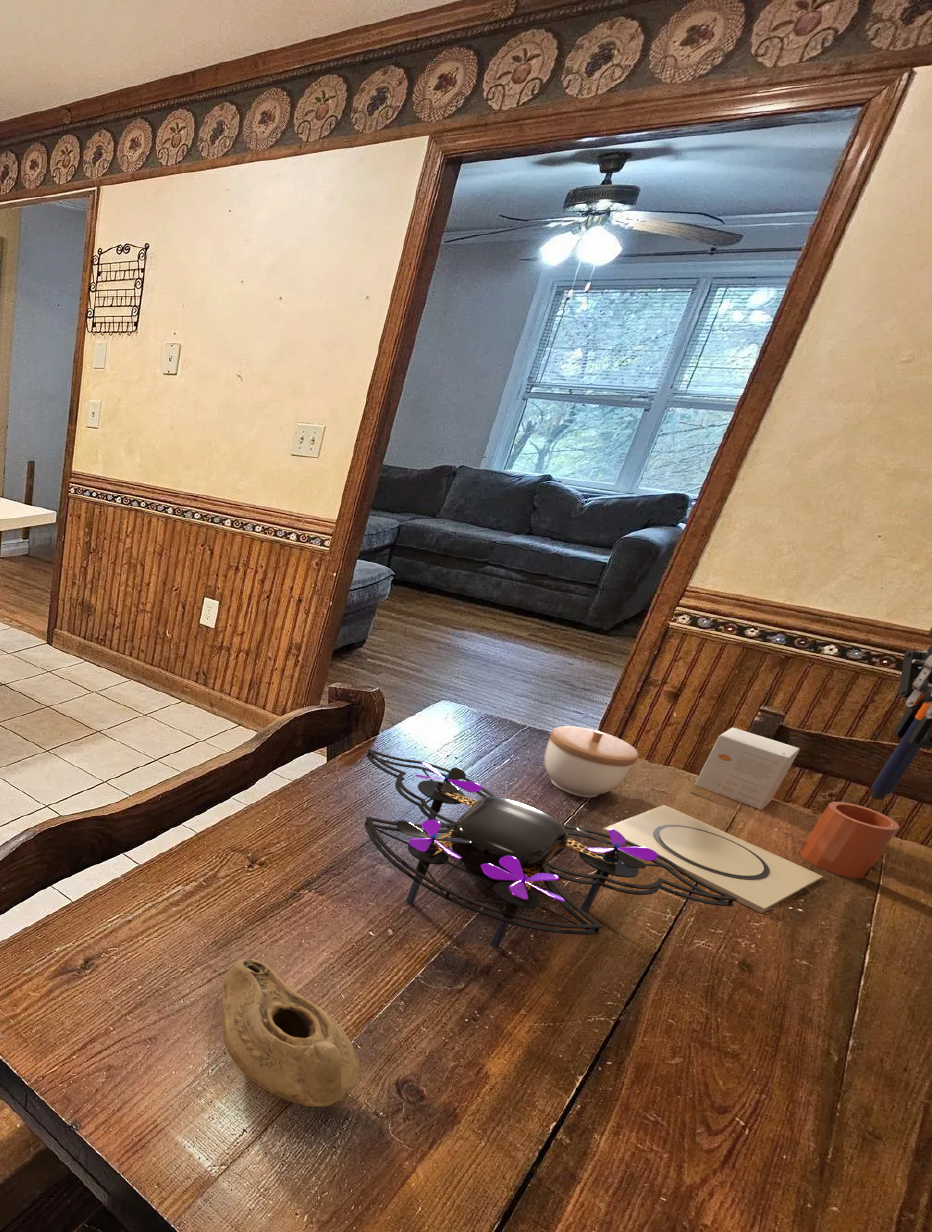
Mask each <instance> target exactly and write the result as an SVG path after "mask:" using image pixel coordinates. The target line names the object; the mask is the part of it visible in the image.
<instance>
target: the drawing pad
mask: <svg viewBox="0 0 932 1232" xmlns="http://www.w3.org/2000/svg"><path fill="white" fill-rule="evenodd" d="M609 829H614V830H616V831H618V832H619V833H621V834H622V835H623V836H624V838H625V839H626V841H629V842H631V843H634V844H636V845H639V846H641V847H645V848H649V849H652V850H654V851H655V852H656V853H658V854H659V855H661V856H663V857H665V858H667V859H668V860H670V861H672V862H673V863H675V864H676V865H677V866H679V867H680V868H681V869H683V870H684V871H685V872H687V873H688V874H690V875H691V876H693V877H695V878H696V879H698V880H700V881H701V882H703V883H705V884H707V885H709V886H711V887H713V888H715V889H717V890H719V891H721V892H724V893H726V894H728V895H731V896H733V897H735V898H737V900H735V901H736V902H738V903H740V904H741V905H744V906H745V907H748V908H750V909H752V910H753V911H756V912H757V913H759V914H763V913H766V912H767V911H769V910H771V909H772V908H773V906H776V905H777V904H779V903H780V902H782V901H784V900H786V899H788V898H790V897H791V896H794V895H795V894H797V893H799V892H801V891H802V890H804V889H806V888H808V887H810V886H812V885H813V884H815V883H817V882H818V881H821V880H822V879H823V878H824V876H823V875H822V874H819V873H817V872H814V871H812V870H810V869H808V868H805V867H803V866H801V865H799V864H797V863H795V862H793V861H790V860H787V859H786V858H783V857H781V856H779V855H778V854H775V853H772V852H770V851H768V850H766V849H763V848H761V847H759V846H757V845H754V844H752V843H750V842H748V841H746V840H744V839H741V838H739V837H736V836H735V835H732V834H730V833H728V832H726V831H723V830H721V829H719V828H717V827H714V826H713V825H710V824H708V823H706V822H704V821H701V820H699V819H697V818H695V817H693V816H690V815H688V814H687V813H683V812H681V811H679V810H677V809H675V808H672V807H670V806H668V805H666V804H663V805H660V806H658V807H655V808H652V809H650V810H647V811H645V812H642V813H639V814H637V815H634V816H631V817H629V818H626V819H623V820H621V821H618V822H616V823H613V824H611V825H608V826H606V827H603V828H602V829H601V833H605V834H608V835H609V832H608V830H609ZM623 845H624V846H626V847H633V846H630V845H628V844H625V843H624V844H623ZM656 860H657V861H659V862H661V863H662V864H664V865H666V866H668V867H669V868H671V869H672V870H673V871H675V872H677V873H678V872H679V871H678V870H676V869H675V868H674V867H672V866H671V865H670V864H668V863H667V862H665V861H663V860H661V859H659V858H657V859H656ZM679 873H680V872H679Z"/></svg>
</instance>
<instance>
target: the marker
mask: <svg viewBox="0 0 932 1232" xmlns="http://www.w3.org/2000/svg"><path fill="white" fill-rule="evenodd" d="M930 705H931V702H924V703H923V705H922V706H921V708H920V710H919V711H918V713H917V714H916V716H915V719H914V720H913V722H912V723H911V725H910V726H909V728H908V730H907V731H906V733H905V734H904V736H903V738H900V740H899V742H898V744H897V746H896V747H895V749H894V750H893V752H892V753H891V755H890V757H889V758H888V760H887V761H886V763H885V764H884V766H883V768H882V769H881V771H880V772H879V774H878V775H877V777H876V779H874V782H873V784H872V785H871V787H870V789H871V790H872V791H871V793H870V794H869V796H870V797H871V798H873V799H874V800H878V801H883V800H884V799H885V798H886V796H887V795H888V796H889V795H891V794H893V792H894V790H895V789H896V787H897V785H898V784H899V783H900V781H901V779H902V778H903V776H904V774H905V773H906V772H907V770H908V769H909V767H910V766H911V764H912V762H913V761H914V760H915V758H916V756H917V754H918V753H919V752H920V751H921V748H919V747H914V746H912V745H910V744H909V743H908V740H909V738H910V737H911V735H912V733H913V732H914V730H915V729H916V727H917V726H918V724H919V722H920V721H921V719H922V718H923V716H924V717H926V712H927V710H928V708H929V706H930Z"/></svg>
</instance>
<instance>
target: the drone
mask: <svg viewBox="0 0 932 1232" xmlns="http://www.w3.org/2000/svg"><path fill="white" fill-rule="evenodd" d="M367 751H368V752H367V753H366V755H365V756H366V757H367V759H368V760H369V761H370V763H372V765H374V766H375V767H376V768H378V769H379V770H381V771H382V772H384V773H386V774H388V775H390V776H391V777H394V778H396V780H395V783H394V786H395V790H396V792H398V793H399V795H400V796H401V797H403V799H405V800H407V801H408V802H410V803H411V804H413V805H415V806H417V807H418V808H419V810H420V811H421V813H422V814H423V815H424V816H425V817H427V820H424V821H423V822H421V823H412V822H409V821H407V820H403V819H401V820H396V821H392V820H386V819H381V818H376V817H371V816H366V817H365V820H366V821H365V822H364V827H365V830H366V833H367V835H368V837H369V839H370V841H371V842H372V844H373V845H374V846H375V848H376V849H377V850H378V851H379V852H380V854H382V855H383V857H384V858H385V859H386V860H387V861H388V862H390V863H391V864H392V865H393V866H394V867H396V869H398V870H399V871H400V872H401V873H403V874H404V875H406V877H408V878H410V879H411V880H412V882H411V885H410V888H409V890H408V894H407V897H406V899H405V902H406V903H408V904H410V905H414V903H415V901H416V898H417V896H418V893H419V890H420V888H421V886H422V887H423V888H425V889H426V890H429V891H430V892H432V893H434V894H436V895H438V896H439V897H441V898H443V899H445V900H447V901H449V902H451V903H453V904H456V905H457V906H460V907H462V908H464V909H467V910H470V911H472V912H474V913H477V914H480V915H482V916H485V917H488V918H491V919H494V920H497V921H499V923H498V925H497V927H496V930H495V931H494V933H493V936H492V938H491V941H490V943H489V945H490V946H491V947H492V948H493V949H499V948H500V946H501V944H502V941H503V939H504V936H505V934H506V932H507V930H508V928H509V926H510V924H511V925H514V926H517V927H521V928H525V929H530V930H536V931H540V932H545V933H552V934H560V935H570V936H571V935H574V936H593V935H594V936H595V935H600V929H603V924H600V923H599V921H597V920H595V919H594V918H593V917H591V916H590V914H587V913H589V912H590V910H591V907H592V905H593V904H594V902H595V899H596V898H597V895H598V893H599V891H600V890H601V887H602V888H606V889H609V890H611V891H615V892H618V893H622V894H623V893H624V894H628V895H634V896H635V895H636V896H649V895H653V894H656V893H657V892H659V890H662V891H664V892H667V893H670V894H672V895H674V896H678V897H681V898H684V899H687V900H690V901H694V902H697V903H702V904H706V905H711V906H721V907H734V901H736V900H737V898H735V897H733V896H731V895H728V894H726V893H724V892H721V891H719V890H717V889H715V888H713V887H711V886H709V885H707V884H705V883H703V882H701V881H700V880H698V879H696V878H695V877H693V876H691V875H690V874H688V873H687V872H685V871H684V870H683V869H681V868H680V867H679V866H677V865H676V864H675V863H673V862H672V861H670V860H668V859H667V858H665V857H663V856H661V855H659V854H658V853H656V852H655V851H654V850H652V849H649V848H645V847H641V846H639V845H636V844H634V843H631V842H629V841H626V839H625V838H624V836H623V835H622V834H621V833H619V832H618V831H616V830H614V829H609V830H608V832H609V835H608V834H605V833H602V831H597V830H593V829H589V828H585V827H580V826H575V825H568V824H562V822H561V821H559V820H557V819H556V818H554V817H553V816H552V815H549V814H548V813H546V812H544V811H542V810H540V809H538V808H535V807H533V806H531V805H528V804H525V803H523V802H521V801H516V800H514V799H511V798H506V797H500V796H496V795H495V794H494V793H492V792H491V791H490V790H488V789H487V788H486V787H484V786H482V785H480V784H479V783H477V782H475V781H474V780H472V779H470V778H468V777H467V774H466V772H465V771H464V770H463V769H462V768H460V767H455V766H454V767H452V768H451V769H447V768H444V767H442V766H439V765H436V764H432V763H429V762H425V761H423V760H422V761H421V760H414V759H408V758H401V757H396V756H393V755H389V754H385V753H382V752H379V751H376V750H373V749H371V748H367ZM378 756H380V757H381V758H380V757H378ZM382 757H383V758H384V759H383V758H382ZM385 758H387V759H390V760H394V761H390V760H387V759H385ZM395 761H399V762H395ZM400 762H404V763H400ZM405 763H411V764H412V765H411V764H405ZM380 764H381V765H380ZM413 764H417V765H413ZM392 765H393V766H392ZM394 766H398V767H403V768H408V769H409V768H410V769H416V770H421V771H422V772H423V773H424V774H425V775H422V774H414V776H415V777H417V778H420V779H427V780H423V781H420V782H419V783H418V784H417V789H418V791H419V792H420V794H422V795H423V796H425V797H427V798H429V799H427V800H426V799H425V798H423V797H420V796H418V795H416V794H415V793H413V792H412V791H410V790H409V789H408V788H407V787H406V786H405V785H404V783H403V781H404V780H405V777H404V776H406V775H407V772H406V771H404V770H401V769H399V768H396V767H394ZM385 767H386V768H387V769H386V768H385ZM388 769H390V770H391V771H390V770H388ZM439 770H440V771H443V772H445V773H447V774H445V773H443V772H440V771H439ZM394 772H396V773H394ZM427 772H429V773H431V774H436V775H437V776H439V777H440V778H439V777H434V776H430V774H428V773H427ZM397 773H398V774H397ZM437 780H438V781H437ZM442 780H443V781H442ZM459 788H460V789H462V790H463V791H466V792H468V793H476V794H477V795H479V796H480V797H481V798H479V799H473V798H471V797H468V796H466V795H465V793H464V792H463V791H461V790H460V789H459ZM408 795H409V796H408ZM411 797H412V798H411ZM413 798H414V799H416V800H418V801H416V800H414V799H413ZM419 801H420V802H419ZM431 801H432V803H431V806H430V805H428V803H429V802H431ZM443 804H447V805H461V804H464V805H466V806H468V807H470V809H468V810H467V811H466V812H464V813H463V814H462V815H461V816H460V817H459V818H458V819H457V820H456V821H455V820H452V819H449V818H447V817H445V816H443V815H441V814H440V811H441V808H442V806H443ZM437 818H438V819H437ZM439 819H440V820H442V821H444V822H442V821H440V820H439ZM373 822H376V823H380V824H376V823H373ZM445 822H446V823H445ZM381 824H385V825H381ZM387 825H391V826H387ZM393 826H396V827H393ZM567 829H568V830H567ZM383 830H387V831H391V832H397V833H399V832H400V833H402V834H404V835H406V836H411V838H410V839H408V842H407V841H405V840H403V839H401V838H398V837H397V836H394V835H392V834H390V833H388V832H385V831H383ZM569 830H574V831H569ZM575 830H576V831H578V832H576V831H575ZM378 832H379V833H381V834H384V835H385V836H387V837H389V838H392V839H394V840H396V841H397V842H401V843H402V844H405V845H407V850H408V852H409V854H411V856H412V857H414V858H415V859H417V860H418V863H417V865H416V868H414V867H413V866H411V865H410V864H409V863H408V862H406V861H405V860H404V859H402V857H400V856H399V855H398V854H396V853H395V851H394V850H392V849H391V848H390V846H388V845H387V844H386V842H385V841H384V840H383V839H382V837H381V836H380V835H379V833H378ZM438 834H443V835H441V836H440V837H438V838H437V835H438ZM593 834H594V835H593ZM595 835H597V836H601V837H605V838H608V839H610V840H608V839H604V838H601V837H597V836H595ZM569 836H575V837H580V838H585V839H589V840H592V841H593V840H594V841H596V842H599V843H602V844H604V845H606V846H608V847H598V846H587V845H584V844H582V843H580V842H578V841H576V840H573V839H572V838H569ZM415 837H416V838H415ZM624 843H625V844H628V845H630V846H633V847H629V846H626V845H625V844H624ZM450 848H451V849H450ZM565 848H568V849H570V850H573V851H576V852H578V855H579V857H580V858H581V859H582V861H583V862H584V863H585V864H587V865H589V866H590V867H592V868H593V869H595V870H596V872H595V874H586V873H579V872H575V871H571V870H568V869H566V868H562V867H560V866H557V865H555V864H553V863H551V861H552V860H553V858H555V857H556V856H558V855H560V854H561V853H562V852H563V851H564V850H565ZM449 856H451V857H453V858H455V859H458V860H459V861H460V862H462V865H463V867H461V866H459V865H456V864H454V863H452V862H449V859H450V857H449ZM657 858H659V859H661V860H663V861H665V862H667V863H668V864H670V865H671V866H672V867H674V868H675V869H676V870H678V871H679V873H680V874H679V873H678V871H676V870H674V869H672V868H670V867H668V866H666V865H664V864H662V863H661V862H659V861H657V860H656V859H657ZM645 861H647V862H652V863H645ZM445 864H447V865H449V866H452V867H454V868H455V869H457V870H459V871H462V872H464V873H466V874H468V875H471V876H473V877H474V878H477V879H479V880H481V881H483V882H485V883H487V884H490V885H492V886H494V888H493V889H494V892H495V894H496V895H497V896H498V897H499V898H500V899H502V900H503V901H501V900H489V899H478V898H470V897H467V896H466V895H463V894H460V893H458V892H457V891H454V890H453V889H450V888H448V887H446V886H444V885H443V884H440V883H438V881H437V880H436V879H435V877H434V876H433V875H432V873H431V872H430V870H429V867H430V865H433V866H434V865H435V866H441V865H445ZM401 865H402V866H401ZM403 866H404V867H403ZM646 867H657V868H663V869H664V870H666V871H667V872H669V873H670V874H671V875H672V876H674V877H675V878H676V879H678V880H679V881H680V882H682V883H683V884H685V885H687V886H688V887H685V886H682V885H679V884H676V883H674V882H671V881H669V880H666V879H664V878H662V877H658V878H657V880H656V881H654V882H653V883H648V884H634V883H628V882H623V881H619V880H616V879H613V878H609V875H610V876H614V877H617V878H618V877H619V878H623V879H628V878H629V879H630V878H631V879H632V878H634V877H635V878H636V877H637V876H638V874H639V873H640V872H639V869H645V868H646ZM405 868H406V869H405ZM549 868H551V869H553V870H556V871H558V872H555V871H553V870H551V869H549ZM408 870H409V871H408ZM410 871H411V872H412V873H413V874H412V873H411V872H410ZM559 872H561V873H563V874H567V875H570V876H573V877H577V878H573V877H570V876H566V875H563V874H561V873H559ZM427 874H428V875H429V877H428V876H426V875H427ZM682 875H683V876H685V877H686V878H688V879H689V880H690V881H689V880H687V879H685V878H684V877H683V876H682ZM579 878H581V879H579ZM559 879H561V880H565V881H568V882H572V883H576V884H580V885H588V886H589V885H591V886H590V888H589V889H588V892H587V894H586V896H585V898H584V900H583V901H582V905H581V906H579V905H577V904H576V903H575V902H574V901H573V900H572V899H571V898H570V897H569V896H568V895H567V894H566V892H565V891H564V890H563V889H562V888H561V886H560V885H559V884H558V882H557V880H559ZM585 879H586V880H585ZM587 879H589V880H587ZM423 880H424V881H426V882H427V883H426V882H424V881H423ZM691 881H692V882H691ZM534 882H543V884H544V885H545V887H546V888H547V890H546V889H544V888H542V887H539V886H537V885H534V884H533V883H534ZM606 882H609V883H611V884H614V885H617V886H614V885H610V884H608V883H606ZM693 882H694V883H696V884H698V885H700V886H701V887H703V888H705V889H707V890H708V891H711V892H713V893H714V894H713V893H712V894H711V893H710V892H708V891H706V890H705V889H702V888H700V887H698V886H697V885H695V884H693ZM429 884H431V885H432V886H431V885H429ZM663 884H665V885H668V886H670V887H671V888H675V889H678V890H681V891H684V892H686V893H690V894H693V895H697V896H700V897H696V896H693V895H690V894H689V895H688V894H686V893H682V892H680V891H676V890H674V889H671V888H669V887H667V886H664V885H663ZM433 886H434V887H433ZM618 886H621V887H625V888H629V889H625V888H621V887H618ZM435 887H436V888H437V889H436V888H435ZM531 887H532V888H534V889H536V890H538V891H539V892H541V893H543V894H545V895H547V896H549V897H550V898H553V899H555V900H556V901H557V902H558V903H559V904H560V905H561V906H562V908H563V909H565V910H566V911H567V912H568V914H570V915H571V916H572V917H573V918H574V919H575V920H577V921H578V922H579V923H578V922H576V921H574V920H572V919H570V918H568V917H567V916H563V915H561V914H559V913H558V912H556V911H554V910H551V909H549V908H547V907H546V906H543V905H541V899H540V898H539V896H538V895H537V894H536V893H535V892H534V891H532V890H531ZM689 887H690V888H689ZM634 889H636V890H634ZM637 889H638V890H637ZM715 893H716V894H715ZM701 897H703V898H701ZM704 897H705V898H709V899H705V898H704ZM710 899H712V900H710ZM462 901H464V902H467V903H469V904H467V903H464V902H462ZM485 903H492V904H493V903H494V904H503V905H504V904H505V905H504V907H503V909H500V908H498V907H494V906H492V905H491V906H490V905H488V904H485ZM567 903H568V904H569V905H568V904H567ZM470 904H472V905H470ZM473 905H475V906H477V907H475V906H473ZM570 906H571V907H570ZM478 907H480V908H482V909H484V910H482V909H480V908H478ZM519 908H523V909H526V910H527V909H528V910H529V909H531V910H533V909H536V908H540V909H541V910H544V911H546V912H548V913H550V914H553V915H554V916H556V917H559V918H561V919H563V920H565V921H567V922H568V923H567V922H557V921H550V920H544V919H539V918H533V917H529V916H524V915H521V914H517V912H518V910H519ZM485 910H488V912H487V911H485ZM489 911H491V912H493V913H491V912H489ZM494 913H497V914H500V915H501V916H500V915H497V914H494ZM579 914H580V915H579ZM581 916H582V917H583V918H582V917H581ZM514 919H517V920H520V921H517V920H514ZM586 920H587V921H588V922H589V923H588V922H587V921H586ZM523 921H525V922H526V923H525V922H523ZM527 922H529V923H527ZM531 923H533V924H531ZM535 924H539V925H535ZM540 925H543V926H540ZM547 926H548V927H547ZM555 927H556V928H555ZM563 928H564V929H563Z"/></svg>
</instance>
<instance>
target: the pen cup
mask: <svg viewBox="0 0 932 1232" xmlns="http://www.w3.org/2000/svg"><path fill="white" fill-rule="evenodd" d="M899 829H900V825H899V823H898V822H897V821H895V820H894V819H893V818H891V817H890V816H887V815H885V814H884V813H882V812H880V811H876V810H874V809H871V808H869V807H866V806H862V805H859V804H855V803H851V802H850V803H849V802H845V801H832V802H830V803H828V804H827V806H826V808H825V809H824V811H823V812H822V813H821V815H820V817H819V818H818V821H817V822H816V823H815V826H814V827H813V829H812V830H811V831H810V833H809V835H808V837H807V838H806V839H805V841H804V843H803V844H802V846H801V847H800V849H799V855H800V856H801V857H802V858H803V859H804V860H805V861H807V862H808V863H810V864H812V865H813V866H815V867H816V868H820V869H821V870H824V871H826V872H829V873H831V874H834V875H838V876H841V877H845V878H850V879H863V878H865V877H867V876H868V874H869V873H870V872H871V871H872V869H871V868H874V866H875V864H876V863H877V861H878V860H879V859H880V857H881V855H882V854H883V853H884V851H885V850H886V848H887V847H888V845H889V844H890V843H891V841H892V839H893V838H894V837H895V835H896V834H897V832H898V830H899Z"/></svg>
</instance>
